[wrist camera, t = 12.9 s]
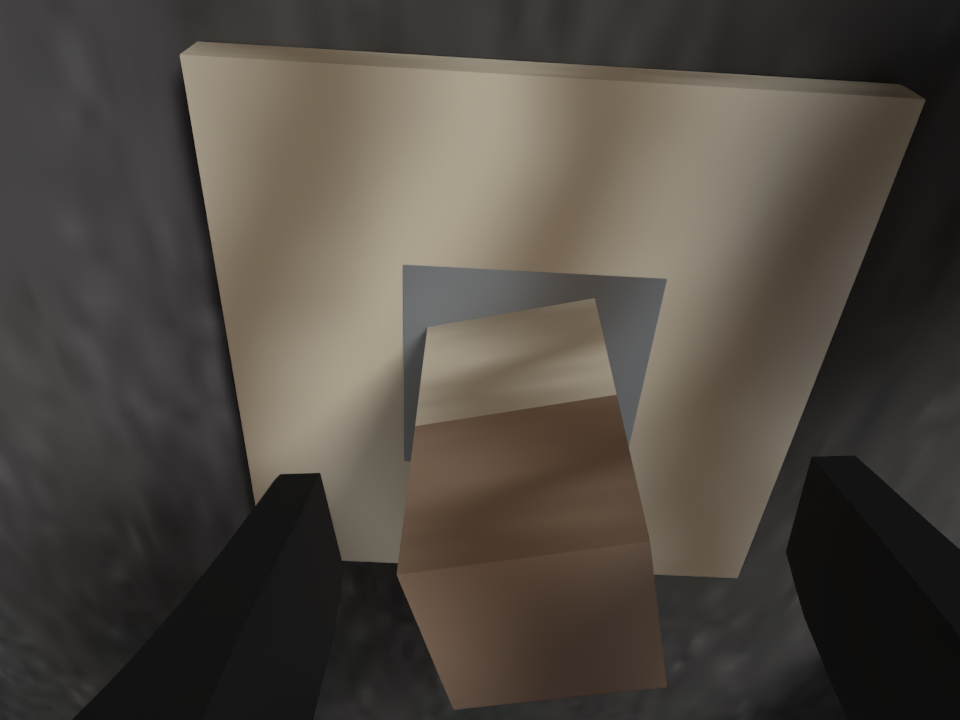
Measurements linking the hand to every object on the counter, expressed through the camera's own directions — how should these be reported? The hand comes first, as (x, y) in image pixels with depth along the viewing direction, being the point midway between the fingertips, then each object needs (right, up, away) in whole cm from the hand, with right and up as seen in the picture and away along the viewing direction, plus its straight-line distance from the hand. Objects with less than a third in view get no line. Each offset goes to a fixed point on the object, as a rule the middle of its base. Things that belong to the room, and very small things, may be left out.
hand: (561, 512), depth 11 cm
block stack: (0, +2, +9) cm, 9 cm away
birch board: (0, +2, +10) cm, 11 cm away
